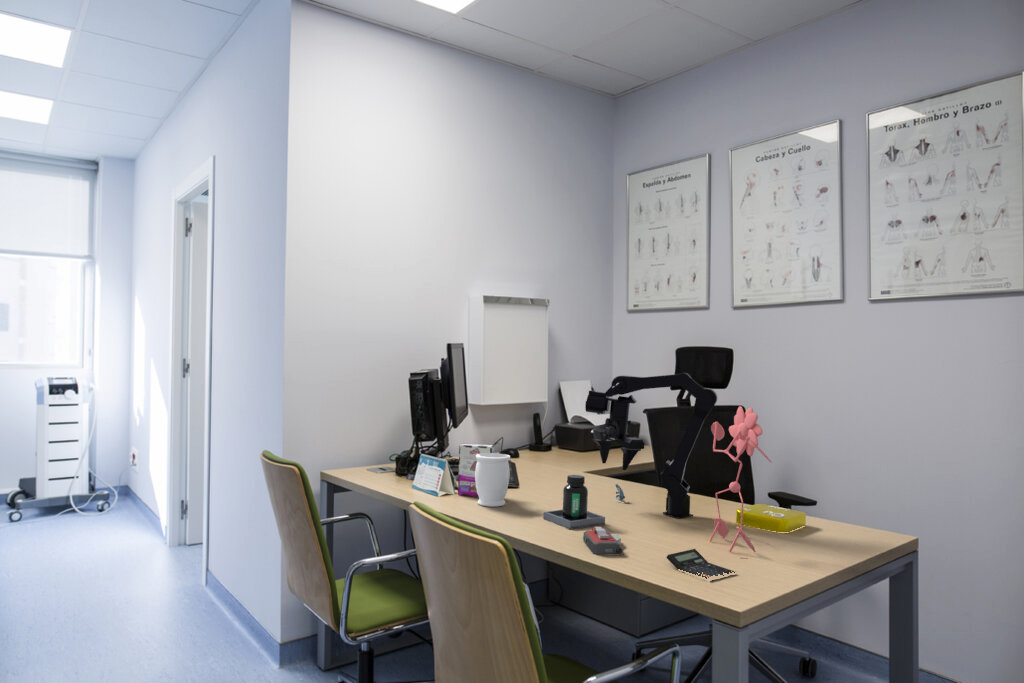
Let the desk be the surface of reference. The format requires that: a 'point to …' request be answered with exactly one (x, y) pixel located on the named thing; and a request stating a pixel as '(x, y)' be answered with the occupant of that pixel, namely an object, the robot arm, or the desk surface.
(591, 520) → the tray
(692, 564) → the calculator
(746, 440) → the figurine
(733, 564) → the desk surface
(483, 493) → the jar
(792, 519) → the element tile
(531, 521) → the desk surface
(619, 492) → the sculpture
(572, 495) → the supplement bottle
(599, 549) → the walkie-talkie
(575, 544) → the desk surface
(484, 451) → the candy bar box
